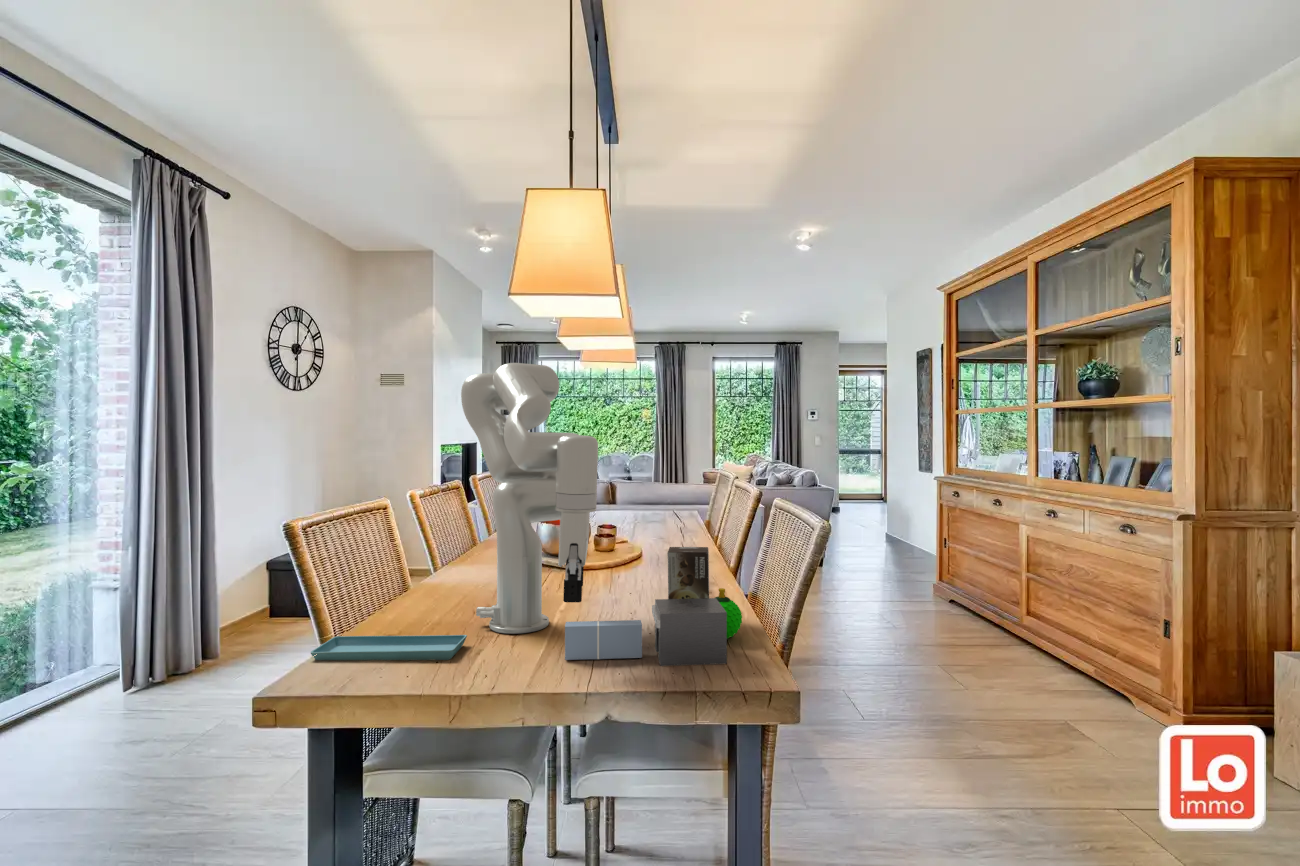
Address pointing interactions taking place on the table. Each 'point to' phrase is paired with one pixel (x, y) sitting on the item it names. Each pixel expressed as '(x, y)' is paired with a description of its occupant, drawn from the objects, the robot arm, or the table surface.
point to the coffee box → (688, 572)
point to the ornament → (730, 613)
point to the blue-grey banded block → (603, 639)
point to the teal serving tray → (390, 647)
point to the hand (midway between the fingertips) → (573, 593)
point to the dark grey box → (690, 631)
